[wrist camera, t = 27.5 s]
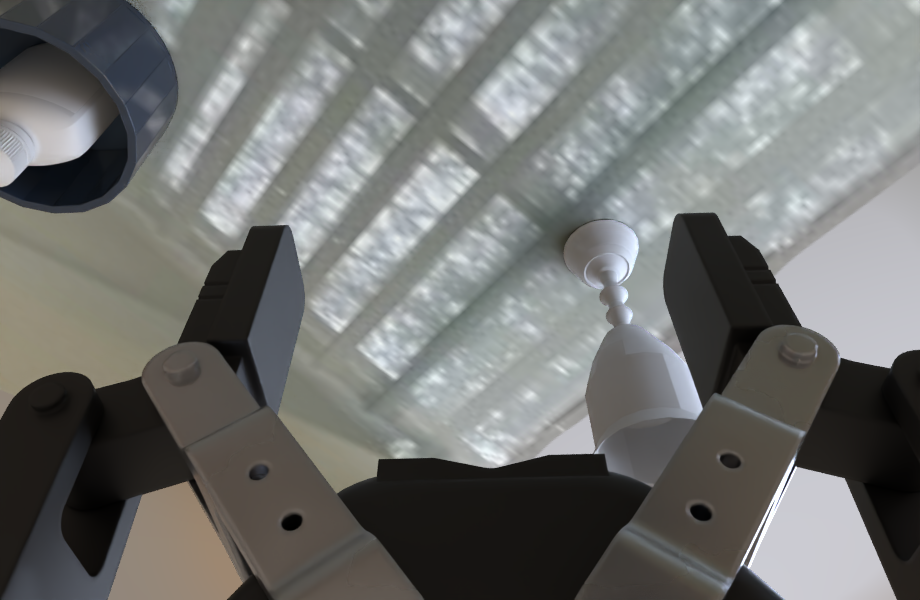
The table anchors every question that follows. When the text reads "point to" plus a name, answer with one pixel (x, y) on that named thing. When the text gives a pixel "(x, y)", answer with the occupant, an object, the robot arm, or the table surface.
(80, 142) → the eye dropper bottle
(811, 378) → the robot arm
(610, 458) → the chalice
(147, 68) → the dark blue round container
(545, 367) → the table surface
